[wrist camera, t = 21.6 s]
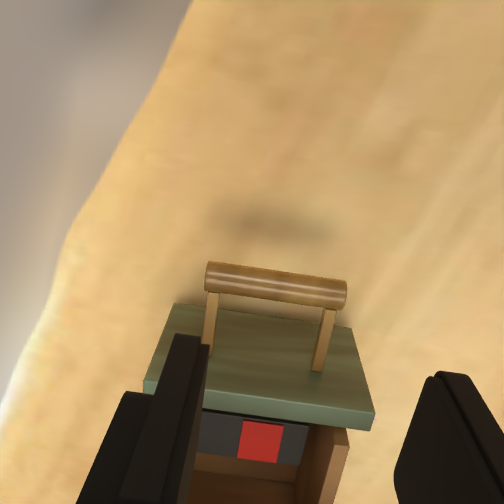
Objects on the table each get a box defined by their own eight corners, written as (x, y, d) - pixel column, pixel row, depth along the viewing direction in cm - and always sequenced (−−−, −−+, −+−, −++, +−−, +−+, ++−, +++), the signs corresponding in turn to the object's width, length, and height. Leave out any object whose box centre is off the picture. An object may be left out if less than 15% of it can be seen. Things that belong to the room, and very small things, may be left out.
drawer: (180, 223, 28) (149, 282, 21) (371, 251, 28) (405, 319, 21) (160, 460, 36) (131, 564, 28) (311, 481, 36) (321, 589, 29)
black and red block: (194, 412, 32) (185, 452, 29) (199, 373, 31) (190, 411, 28) (297, 426, 32) (300, 468, 29) (306, 388, 31) (310, 427, 28)
